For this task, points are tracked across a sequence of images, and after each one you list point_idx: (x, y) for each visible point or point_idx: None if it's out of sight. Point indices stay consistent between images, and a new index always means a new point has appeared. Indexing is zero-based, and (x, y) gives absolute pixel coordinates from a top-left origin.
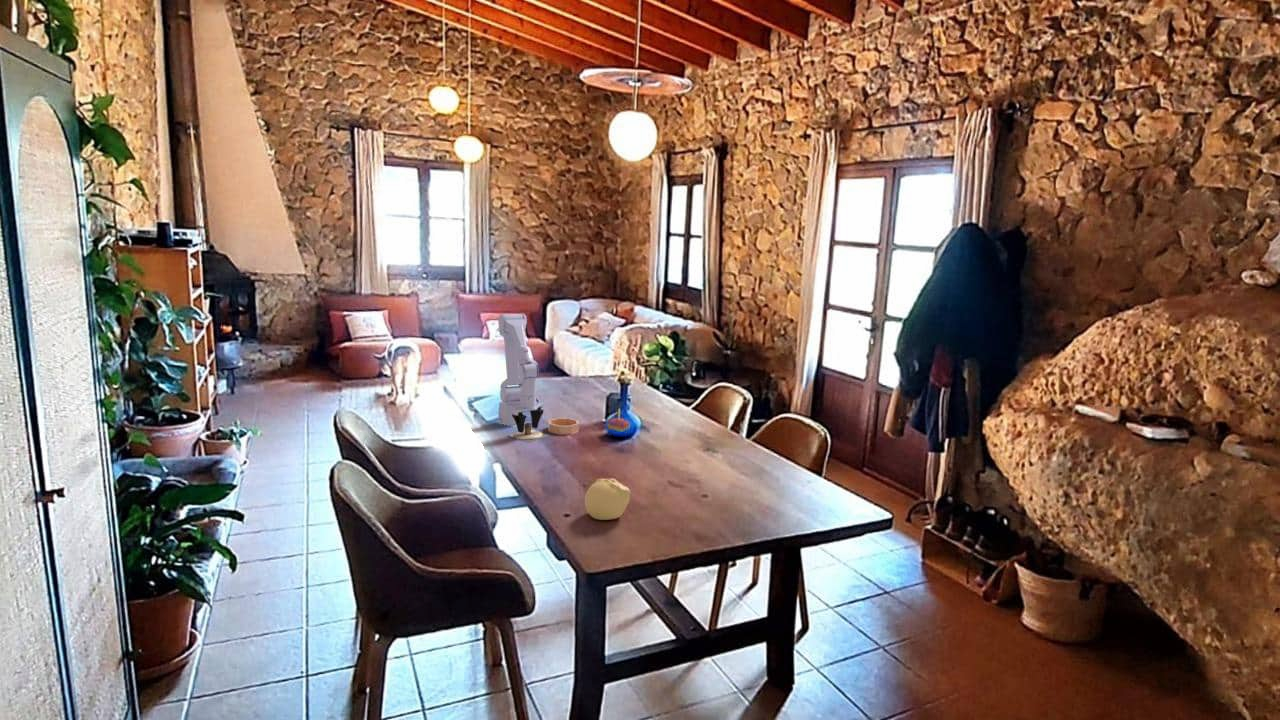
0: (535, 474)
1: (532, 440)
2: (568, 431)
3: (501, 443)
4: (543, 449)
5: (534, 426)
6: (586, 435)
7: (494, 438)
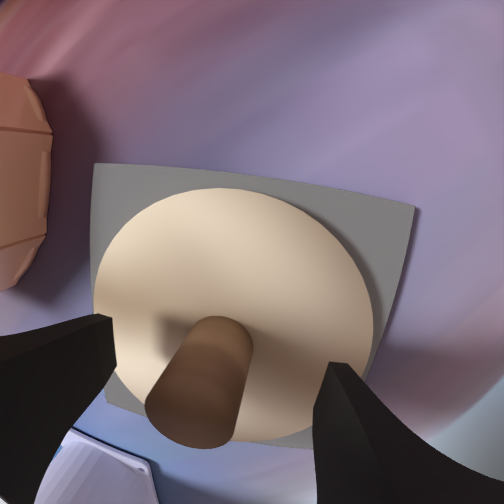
0: None
1: (342, 204)
2: (13, 83)
3: (471, 375)
4: (445, 24)
5: (104, 347)
6: (16, 28)
7: None
